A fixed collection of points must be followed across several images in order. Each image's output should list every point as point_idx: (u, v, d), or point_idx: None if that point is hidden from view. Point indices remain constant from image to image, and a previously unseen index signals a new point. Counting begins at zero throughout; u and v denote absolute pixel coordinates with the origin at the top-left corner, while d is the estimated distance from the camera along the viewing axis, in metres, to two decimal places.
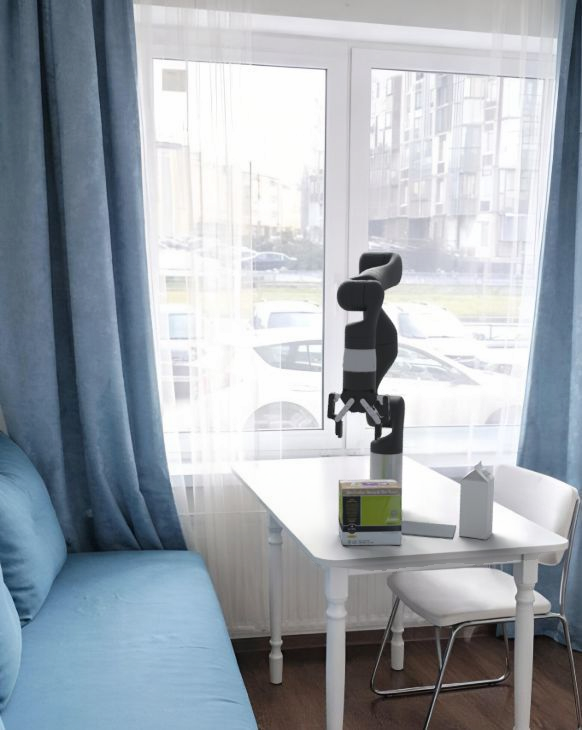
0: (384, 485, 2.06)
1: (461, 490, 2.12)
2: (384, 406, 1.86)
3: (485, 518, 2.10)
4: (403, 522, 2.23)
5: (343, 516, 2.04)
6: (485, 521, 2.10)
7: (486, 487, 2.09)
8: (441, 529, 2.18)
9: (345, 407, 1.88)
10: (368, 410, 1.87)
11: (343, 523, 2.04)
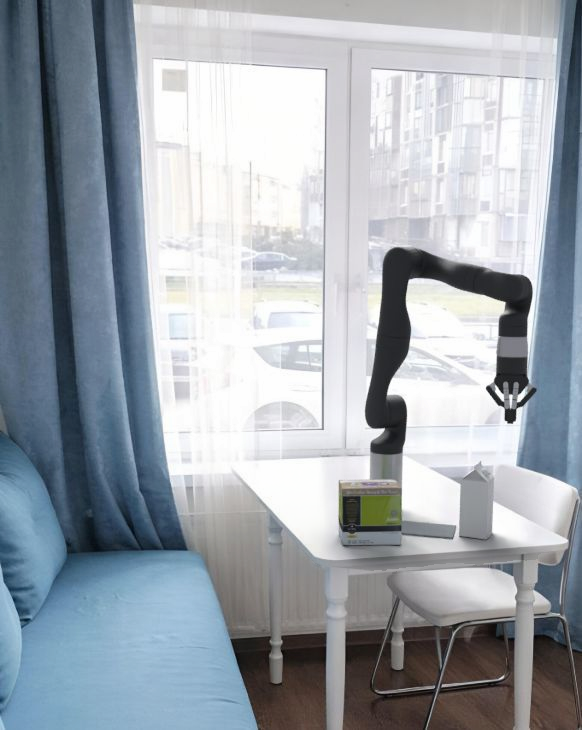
0: (384, 485, 2.06)
1: (461, 490, 2.12)
2: (528, 395, 2.05)
3: (485, 518, 2.10)
4: (403, 522, 2.23)
5: (343, 516, 2.04)
6: (485, 521, 2.10)
7: (486, 487, 2.09)
8: (441, 529, 2.18)
9: (505, 392, 2.06)
10: (514, 393, 2.05)
11: (343, 523, 2.04)
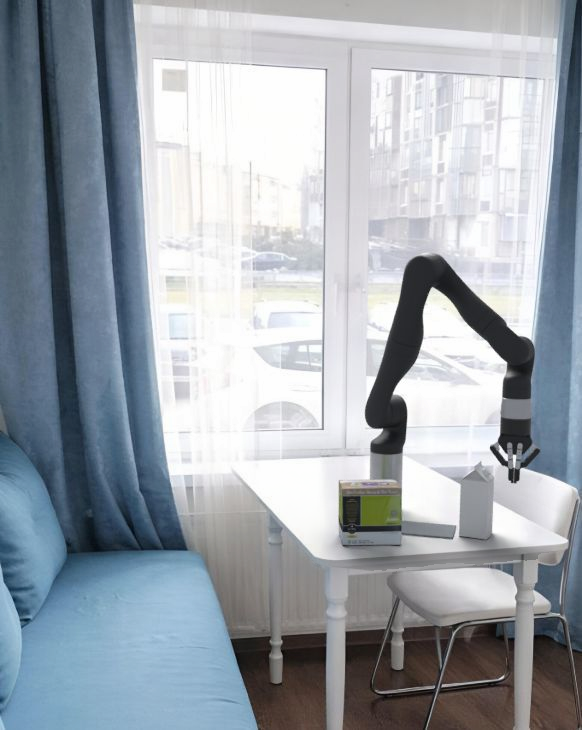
0: (384, 485, 2.06)
1: (461, 490, 2.12)
2: (531, 455, 2.08)
3: (485, 518, 2.10)
4: (403, 522, 2.23)
5: (343, 516, 2.04)
6: (485, 521, 2.10)
7: (486, 487, 2.09)
8: (441, 529, 2.18)
9: (509, 453, 2.09)
10: (518, 454, 2.08)
11: (343, 523, 2.04)
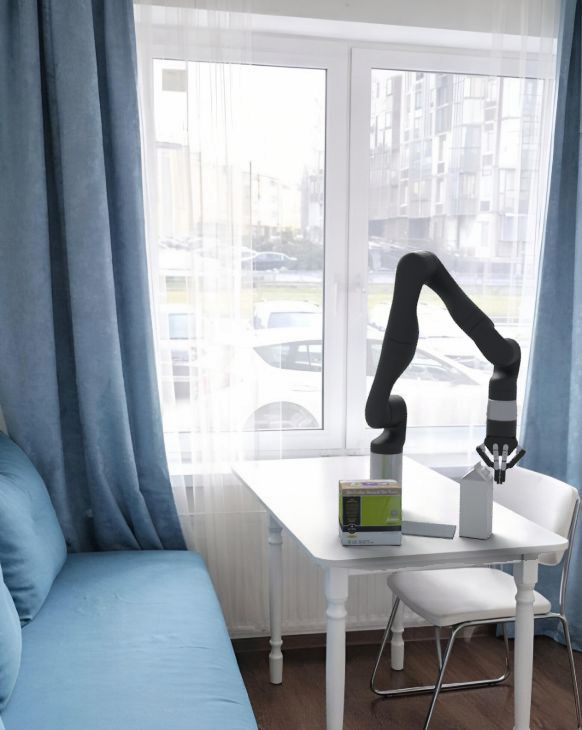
0: (384, 485, 2.06)
1: (461, 490, 2.12)
2: (517, 456, 2.09)
3: (485, 518, 2.10)
4: (403, 522, 2.23)
5: (343, 516, 2.04)
6: (485, 521, 2.10)
7: (486, 486, 2.09)
8: (441, 529, 2.18)
9: (495, 454, 2.10)
10: (503, 455, 2.09)
11: (343, 523, 2.04)
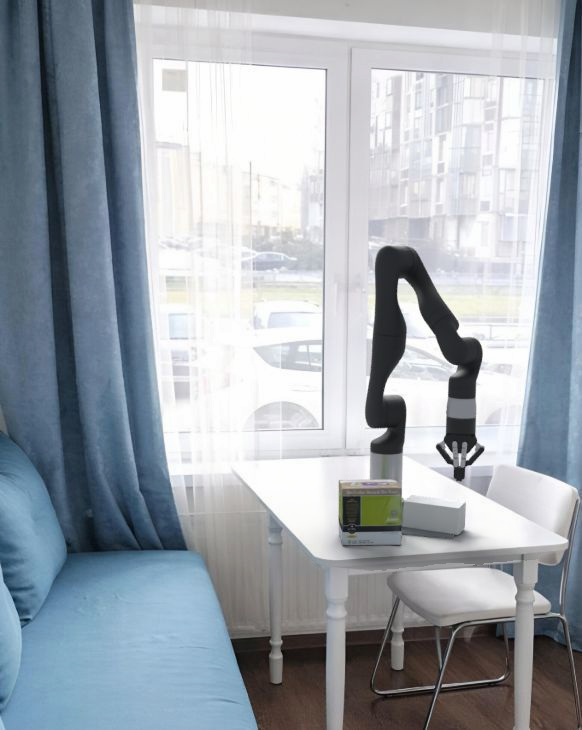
0: (384, 485, 2.06)
1: (413, 527, 2.18)
2: (476, 454, 2.12)
3: (438, 506, 2.15)
4: None
5: (343, 516, 2.04)
6: (440, 507, 2.14)
7: (407, 502, 2.18)
8: None
9: (454, 451, 2.13)
10: (463, 453, 2.12)
11: (343, 523, 2.04)
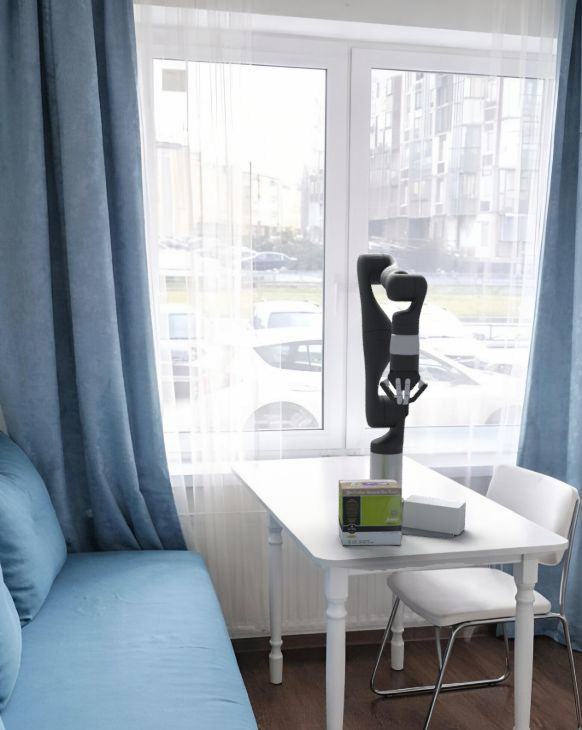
0: (384, 485, 2.06)
1: (413, 527, 2.18)
2: (419, 391, 2.13)
3: (438, 506, 2.15)
4: None
5: (343, 516, 2.04)
6: (440, 507, 2.14)
7: (407, 502, 2.18)
8: None
9: (397, 388, 2.13)
10: (406, 389, 2.13)
11: (343, 523, 2.04)
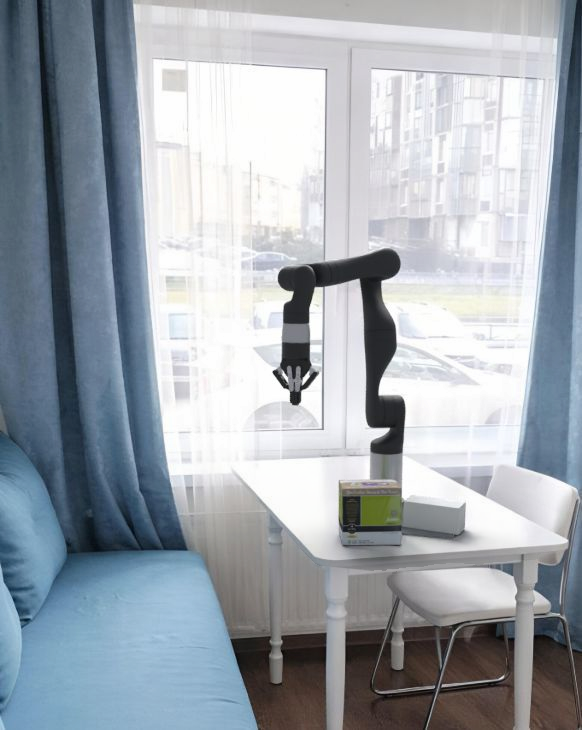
0: (384, 485, 2.06)
1: (413, 527, 2.18)
2: (309, 378, 2.18)
3: (438, 506, 2.15)
4: None
5: (343, 516, 2.04)
6: (440, 507, 2.14)
7: (407, 502, 2.18)
8: None
9: (289, 376, 2.19)
10: (297, 377, 2.19)
11: (343, 523, 2.04)
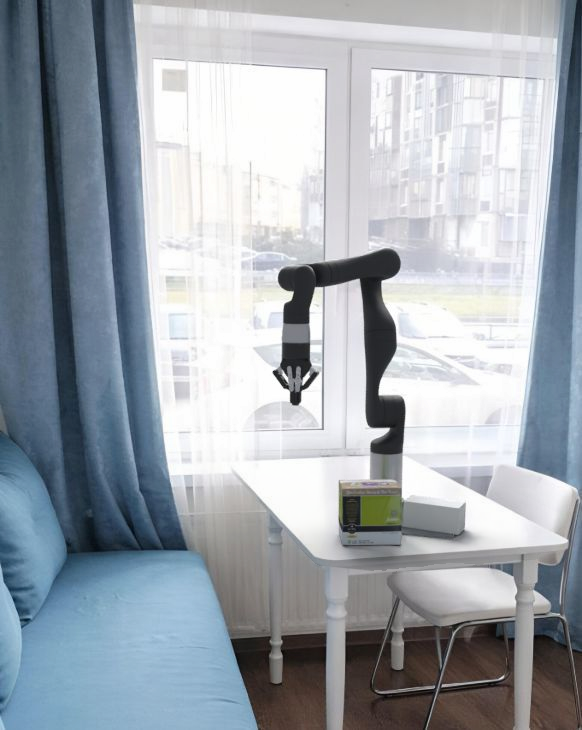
0: (384, 485, 2.06)
1: (413, 527, 2.18)
2: (310, 378, 2.18)
3: (438, 506, 2.15)
4: None
5: (343, 516, 2.04)
6: (440, 507, 2.14)
7: (407, 502, 2.18)
8: None
9: (289, 376, 2.19)
10: (297, 377, 2.19)
11: (343, 523, 2.04)
